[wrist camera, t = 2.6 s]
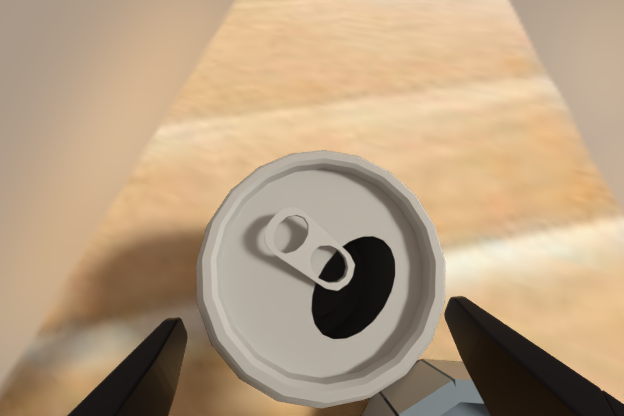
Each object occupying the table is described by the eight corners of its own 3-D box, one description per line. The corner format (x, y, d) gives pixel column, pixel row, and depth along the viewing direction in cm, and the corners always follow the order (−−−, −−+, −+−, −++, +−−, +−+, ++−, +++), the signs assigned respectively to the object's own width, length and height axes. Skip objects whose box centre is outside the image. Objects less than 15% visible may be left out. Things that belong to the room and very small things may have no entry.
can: (319, 358, 16) (374, 549, 5) (230, 285, 17) (92, 294, 6) (380, 262, 18) (525, 229, 7) (297, 202, 19) (297, 81, 7)
